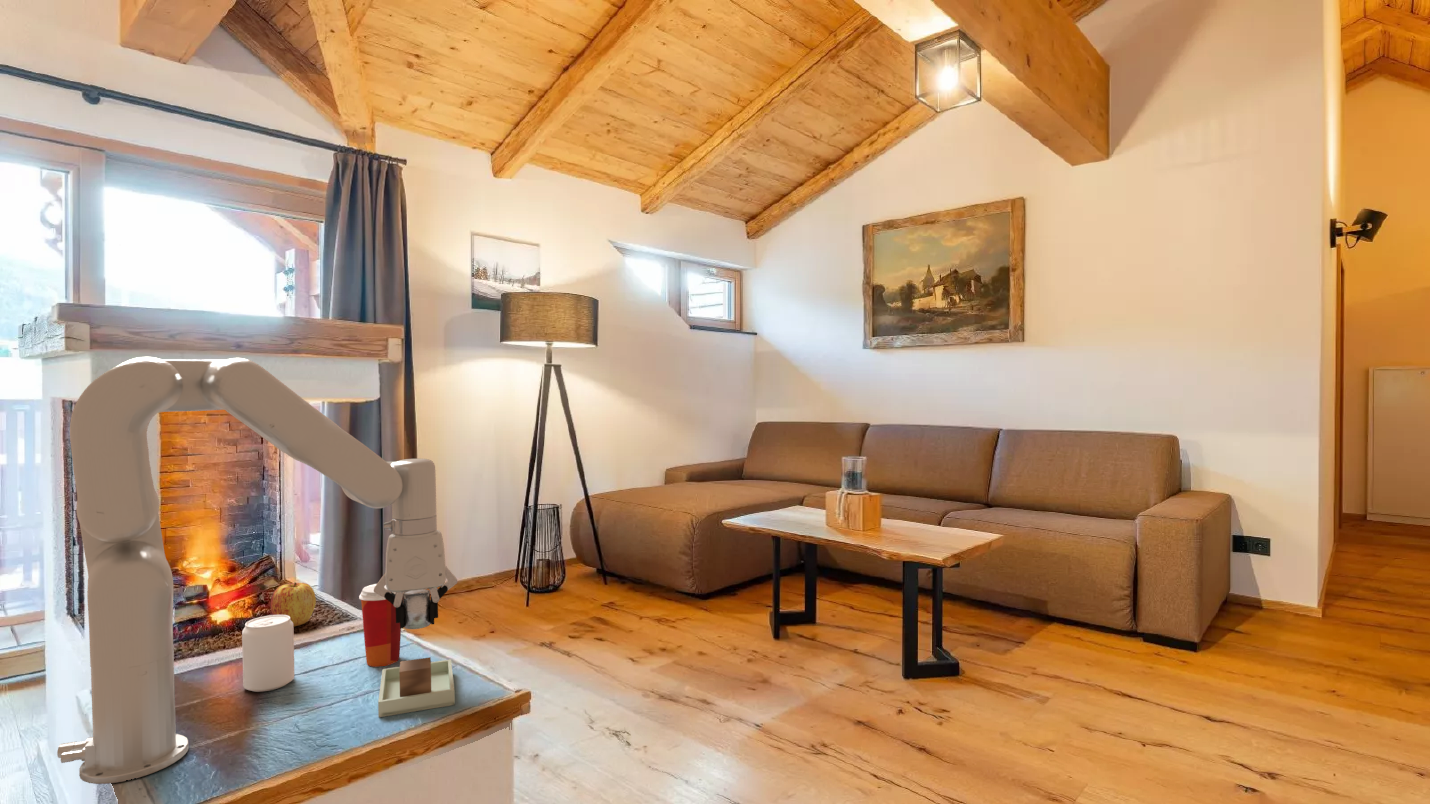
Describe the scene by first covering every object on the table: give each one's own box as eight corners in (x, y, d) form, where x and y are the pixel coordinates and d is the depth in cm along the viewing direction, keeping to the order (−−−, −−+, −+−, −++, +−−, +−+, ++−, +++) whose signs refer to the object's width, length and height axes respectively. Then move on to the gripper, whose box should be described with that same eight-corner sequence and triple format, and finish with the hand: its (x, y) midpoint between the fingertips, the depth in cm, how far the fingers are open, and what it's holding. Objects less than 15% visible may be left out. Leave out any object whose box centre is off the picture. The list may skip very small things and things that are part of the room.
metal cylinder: (403, 630, 130) (403, 597, 130) (404, 622, 134) (403, 591, 134) (430, 627, 132) (429, 594, 131) (430, 619, 136) (429, 588, 136)
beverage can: (303, 680, 135) (302, 617, 135) (259, 697, 128) (258, 630, 128) (278, 672, 139) (277, 611, 139) (234, 688, 132) (232, 623, 131)
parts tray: (378, 717, 120) (378, 702, 120) (382, 682, 134) (382, 669, 134) (454, 704, 125) (454, 690, 125) (451, 672, 138) (451, 659, 138)
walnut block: (400, 706, 123) (399, 672, 123) (400, 694, 127) (400, 661, 127) (431, 701, 125) (430, 667, 124) (431, 690, 129) (430, 657, 129)
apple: (295, 617, 172) (294, 575, 172) (325, 620, 170) (325, 578, 169) (261, 629, 163) (260, 586, 163) (294, 633, 161) (293, 589, 160)
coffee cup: (393, 650, 150) (391, 579, 150) (413, 659, 145) (411, 586, 145) (352, 662, 144) (350, 588, 143) (371, 673, 139) (370, 596, 138)
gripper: (362, 534, 125) (365, 637, 126) (464, 526, 132) (466, 624, 132) (365, 526, 132) (368, 624, 133) (462, 518, 139) (464, 612, 139)
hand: (417, 623), depth 133 cm, fingers closed on metal cylinder, 4 cm apart
